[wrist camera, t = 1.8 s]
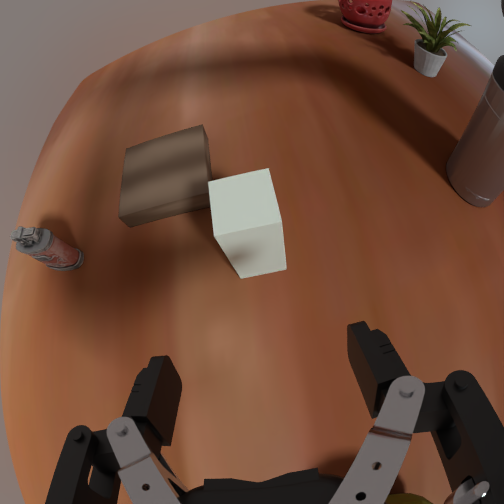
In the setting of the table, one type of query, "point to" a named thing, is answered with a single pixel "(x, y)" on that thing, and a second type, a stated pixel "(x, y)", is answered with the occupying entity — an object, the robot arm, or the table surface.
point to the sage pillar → (248, 222)
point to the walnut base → (166, 177)
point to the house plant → (431, 43)
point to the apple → (406, 499)
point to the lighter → (47, 248)
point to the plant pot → (365, 14)
